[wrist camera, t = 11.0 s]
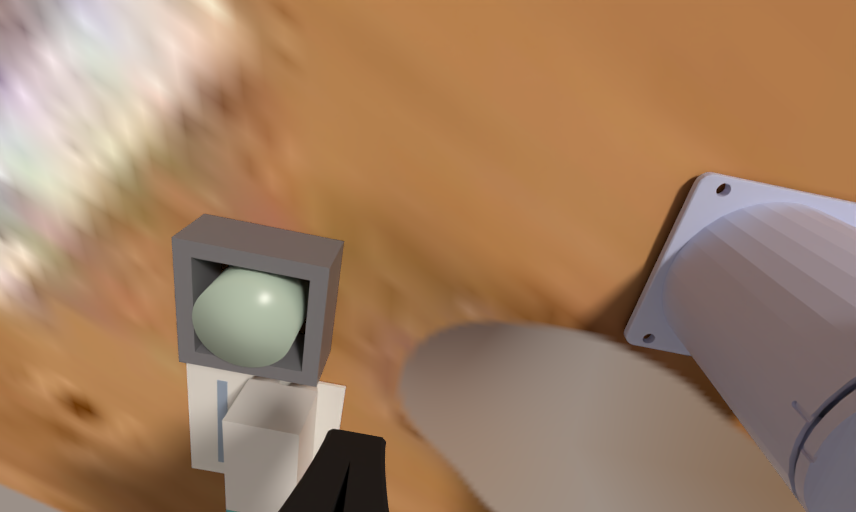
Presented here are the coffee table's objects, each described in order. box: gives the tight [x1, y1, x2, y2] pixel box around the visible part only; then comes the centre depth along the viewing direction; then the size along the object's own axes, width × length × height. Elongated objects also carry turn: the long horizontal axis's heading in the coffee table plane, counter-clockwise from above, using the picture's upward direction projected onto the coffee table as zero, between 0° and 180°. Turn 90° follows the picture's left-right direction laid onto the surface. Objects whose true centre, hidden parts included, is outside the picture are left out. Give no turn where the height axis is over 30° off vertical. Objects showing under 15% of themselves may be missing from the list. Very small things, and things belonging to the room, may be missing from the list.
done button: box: [192, 265, 310, 368], centre depth 19 cm, size 4×4×3 cm
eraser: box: [222, 376, 318, 512], centre depth 23 cm, size 8×3×3 cm, turn 171°
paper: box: [187, 363, 346, 474], centre depth 25 cm, size 8×8×1 cm
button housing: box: [172, 214, 344, 387], centre depth 20 cm, size 6×6×2 cm
